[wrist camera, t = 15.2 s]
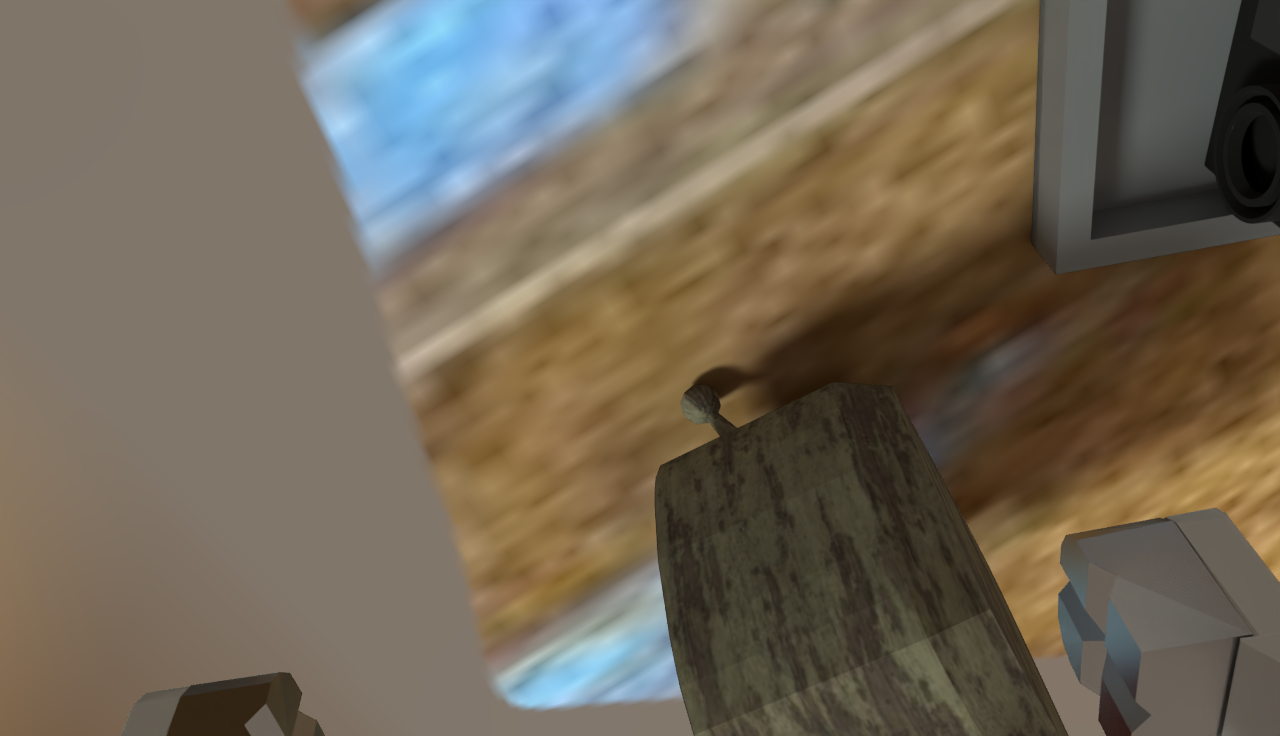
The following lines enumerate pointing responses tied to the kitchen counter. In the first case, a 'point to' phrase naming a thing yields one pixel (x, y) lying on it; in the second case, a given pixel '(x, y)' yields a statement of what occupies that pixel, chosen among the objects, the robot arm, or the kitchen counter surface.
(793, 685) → the tabletop clock
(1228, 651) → the robot arm
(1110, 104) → the tray
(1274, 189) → the digital camera
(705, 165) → the kitchen counter surface
